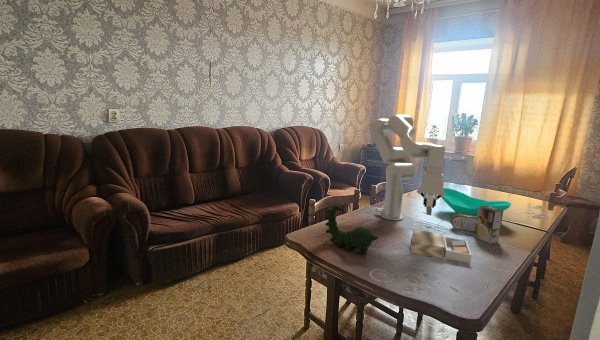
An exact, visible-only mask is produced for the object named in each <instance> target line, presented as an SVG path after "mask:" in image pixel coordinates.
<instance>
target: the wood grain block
mask: <svg viewBox="0 0 600 340" xmlns="http://www.w3.org/2000/svg"><path fill="white" fill-rule="evenodd" d="M443 237H444V234H443V233H439V232H438V233H437V232H432V231H426V230H421V229H415V228H413V229H412V236H411V245H410V253H414V254H418V255H423V256H427V257H434V258H437V259H445V258H444V251H445V244H444V239H443Z"/></svg>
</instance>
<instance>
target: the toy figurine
mask: <svg viewBox="0 0 600 340" xmlns="http://www.w3.org/2000/svg"><path fill="white" fill-rule="evenodd" d="M338 211H341V212H343V213H344V212H345V210H344V208H343V207H342V206H341V205H334V206H332V207H331V208H328V210H326V211H325V214H327V216H325V219H326V220H327V222H326V223H325V224H324V225H325V226H326V227H328V228H327V229H326V230H325V233H327V234H331V237H330V239H329V241H330V242H331V243H334V242H335V241H336V246H337V248H341V247H343V246H344V248H345V250H347V251H348V250H351V249H352V248H355V249H358V252H359V253H360V254H361V255H365V254H366V253H367V252H368V251H369V247H370V246H371V245H372V243H373V241H377V240H378V239H379V237H378V236H376V235H374V234H373V233H372V232H371V230H370V229H368V228H367V227H365V226H357V227H355V228H353V229H352V230H348V231H344V230H340V228H339V226H338V221H337V220H336V219H337V216H336V212H338Z"/></svg>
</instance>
